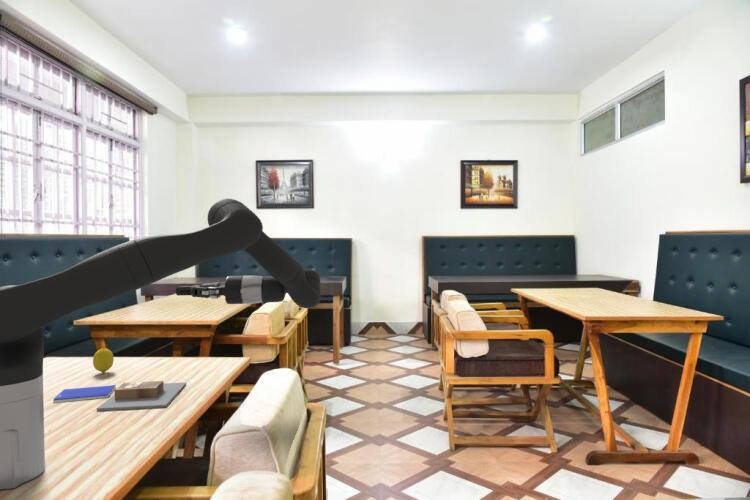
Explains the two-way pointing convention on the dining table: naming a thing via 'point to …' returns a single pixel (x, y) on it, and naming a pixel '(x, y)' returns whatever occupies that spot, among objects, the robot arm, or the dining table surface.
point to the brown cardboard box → (139, 390)
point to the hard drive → (84, 393)
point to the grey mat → (145, 399)
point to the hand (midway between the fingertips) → (177, 291)
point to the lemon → (103, 360)
